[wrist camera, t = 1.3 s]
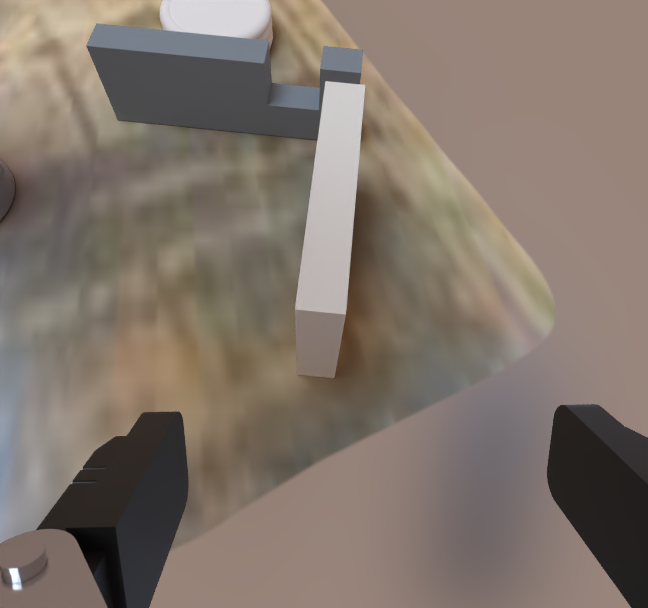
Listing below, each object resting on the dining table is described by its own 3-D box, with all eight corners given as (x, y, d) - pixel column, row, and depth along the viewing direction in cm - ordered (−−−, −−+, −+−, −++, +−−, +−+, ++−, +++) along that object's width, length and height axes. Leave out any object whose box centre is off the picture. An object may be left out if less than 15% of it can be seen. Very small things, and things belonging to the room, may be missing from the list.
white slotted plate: (334, 378, 34) (345, 314, 25) (296, 374, 34) (295, 309, 25) (351, 188, 41) (365, 85, 32) (320, 185, 41) (325, 81, 32)
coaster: (159, 16, 50) (149, -20, 46) (258, 0, 51) (255, -36, 48) (178, 86, 45) (169, 51, 42) (285, 66, 47) (284, 31, 44)
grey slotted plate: (117, 119, 43) (86, 45, 37) (125, 99, 44) (96, 23, 38) (352, 143, 43) (361, 73, 37) (354, 121, 44) (363, 49, 38)
